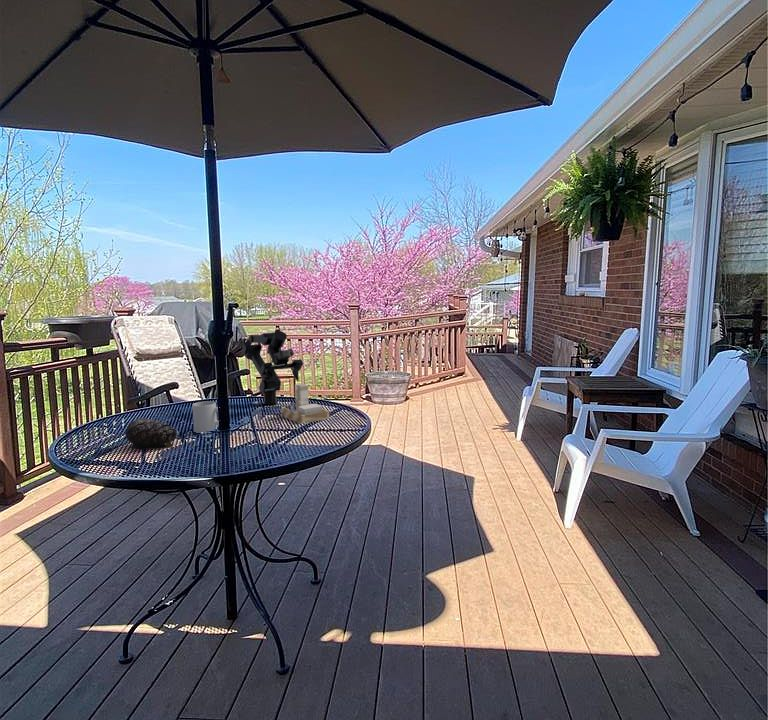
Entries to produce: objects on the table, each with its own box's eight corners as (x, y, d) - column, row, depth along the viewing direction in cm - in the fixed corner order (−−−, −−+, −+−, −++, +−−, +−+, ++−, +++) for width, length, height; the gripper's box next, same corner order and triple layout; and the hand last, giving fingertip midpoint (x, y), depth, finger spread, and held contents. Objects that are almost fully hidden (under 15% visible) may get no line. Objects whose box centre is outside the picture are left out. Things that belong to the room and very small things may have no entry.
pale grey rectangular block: (296, 414, 203) (294, 384, 201) (303, 413, 205) (302, 383, 203) (301, 416, 199) (300, 386, 197) (309, 415, 201) (307, 385, 199)
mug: (190, 434, 180) (187, 406, 179) (200, 428, 189) (198, 401, 187) (221, 434, 179) (219, 406, 178) (229, 428, 188) (228, 401, 186)
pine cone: (173, 449, 163) (171, 421, 161) (121, 450, 163) (118, 422, 161) (186, 440, 173) (183, 413, 172) (136, 441, 173) (134, 414, 172)
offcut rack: (279, 416, 204) (279, 407, 204) (308, 411, 213) (308, 402, 212) (300, 426, 188) (300, 416, 188) (331, 420, 197) (331, 410, 196)
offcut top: (298, 412, 196) (297, 406, 196) (315, 409, 201) (315, 403, 200) (304, 415, 191) (304, 409, 191) (322, 412, 196) (322, 406, 196)
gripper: (261, 344, 207) (273, 373, 199) (300, 341, 218) (312, 368, 210) (255, 361, 214) (266, 388, 207) (293, 357, 225) (305, 383, 218)
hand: (288, 381), depth 210 cm, fingers open, 9 cm apart
